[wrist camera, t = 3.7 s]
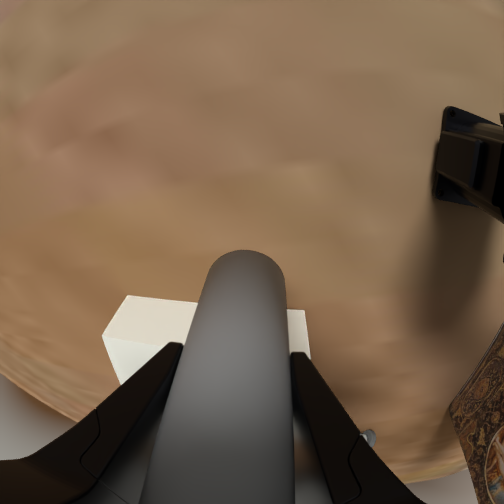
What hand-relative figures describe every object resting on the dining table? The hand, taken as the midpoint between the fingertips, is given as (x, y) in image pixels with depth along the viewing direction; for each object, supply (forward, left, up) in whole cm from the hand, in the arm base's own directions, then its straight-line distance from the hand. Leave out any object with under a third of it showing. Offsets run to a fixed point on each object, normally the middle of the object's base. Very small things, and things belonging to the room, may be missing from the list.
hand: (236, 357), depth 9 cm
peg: (0, 0, -4) cm, 4 cm away
